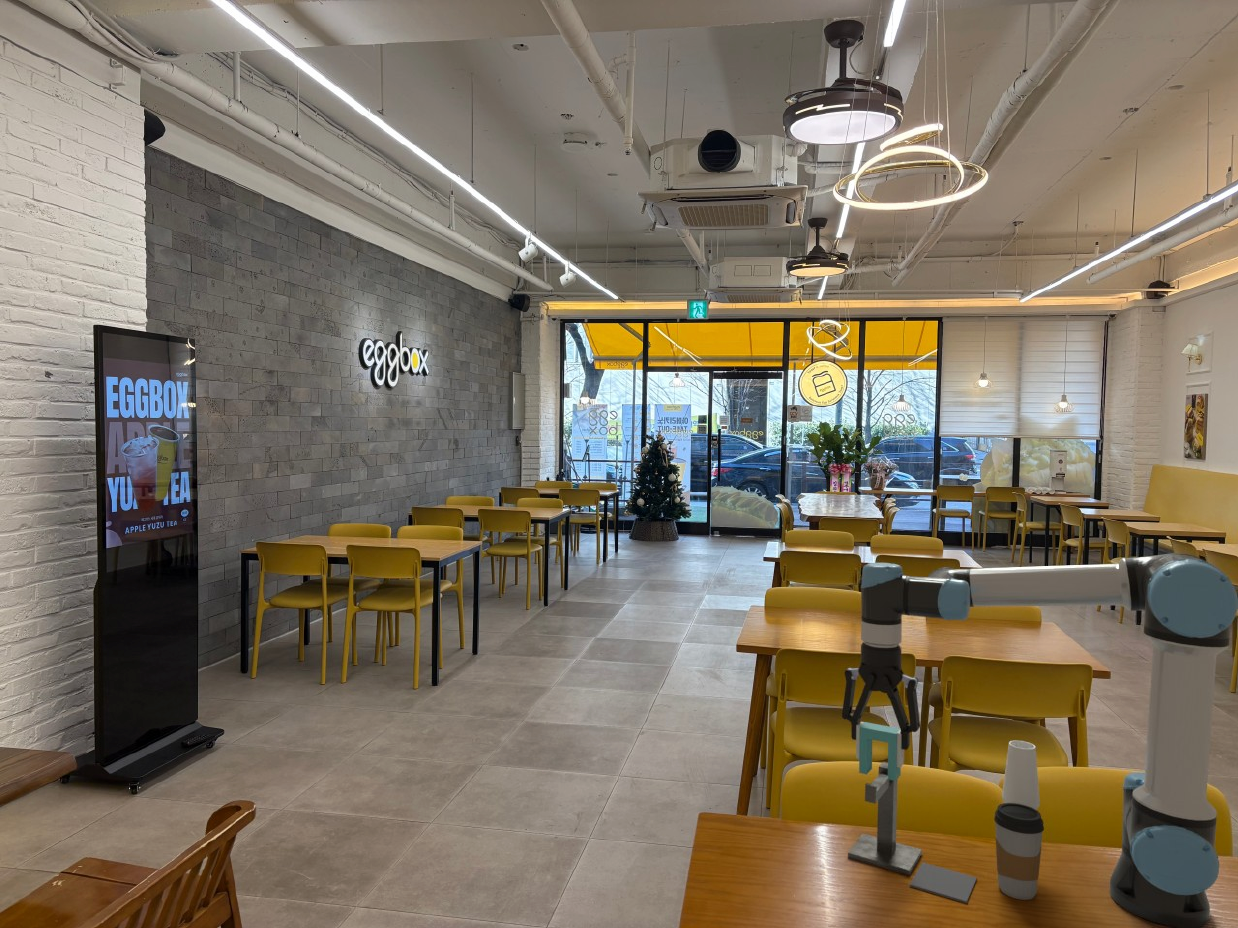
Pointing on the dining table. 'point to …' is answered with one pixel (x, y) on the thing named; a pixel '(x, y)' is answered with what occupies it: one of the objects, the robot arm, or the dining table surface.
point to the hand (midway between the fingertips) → (879, 760)
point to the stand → (884, 830)
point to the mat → (943, 882)
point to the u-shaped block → (865, 747)
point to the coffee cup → (1018, 849)
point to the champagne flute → (1021, 775)
